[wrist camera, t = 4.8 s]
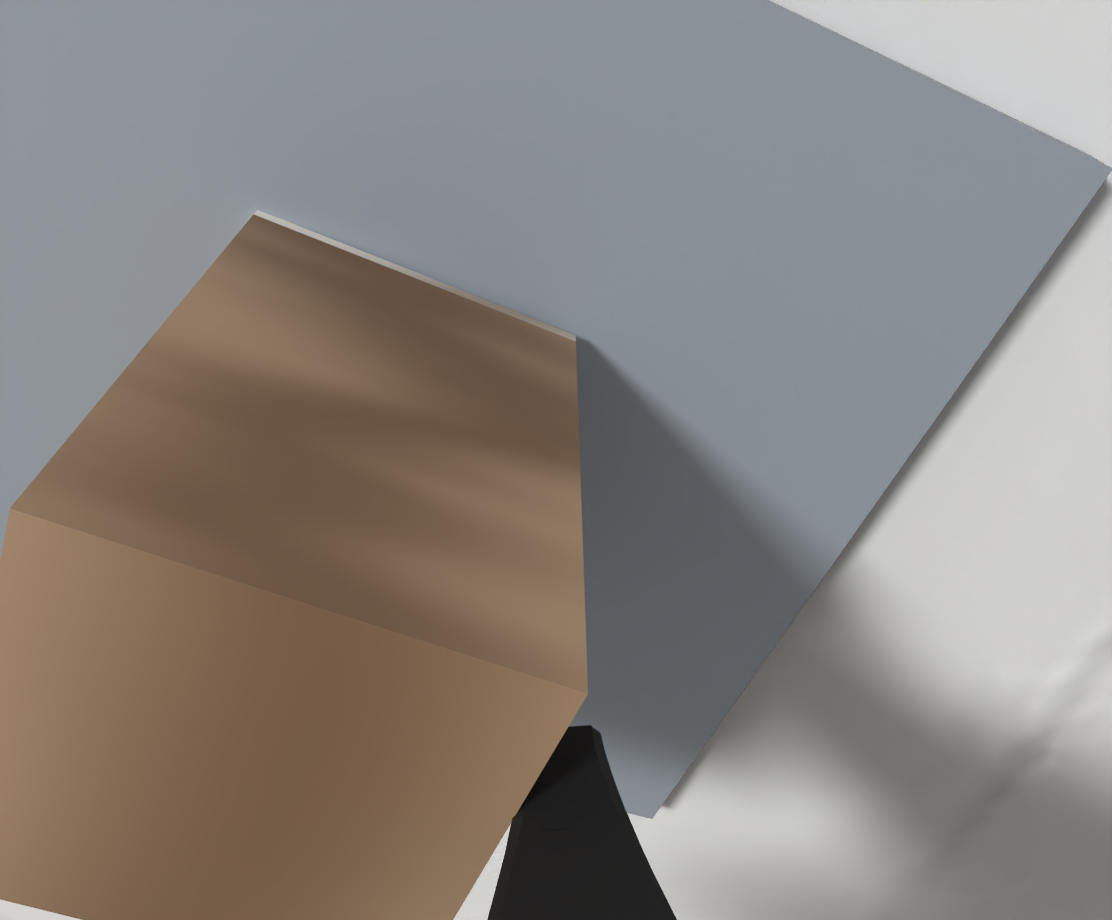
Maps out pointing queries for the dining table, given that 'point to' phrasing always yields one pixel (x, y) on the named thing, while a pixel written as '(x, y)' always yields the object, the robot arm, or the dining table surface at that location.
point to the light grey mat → (557, 262)
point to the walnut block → (294, 601)
